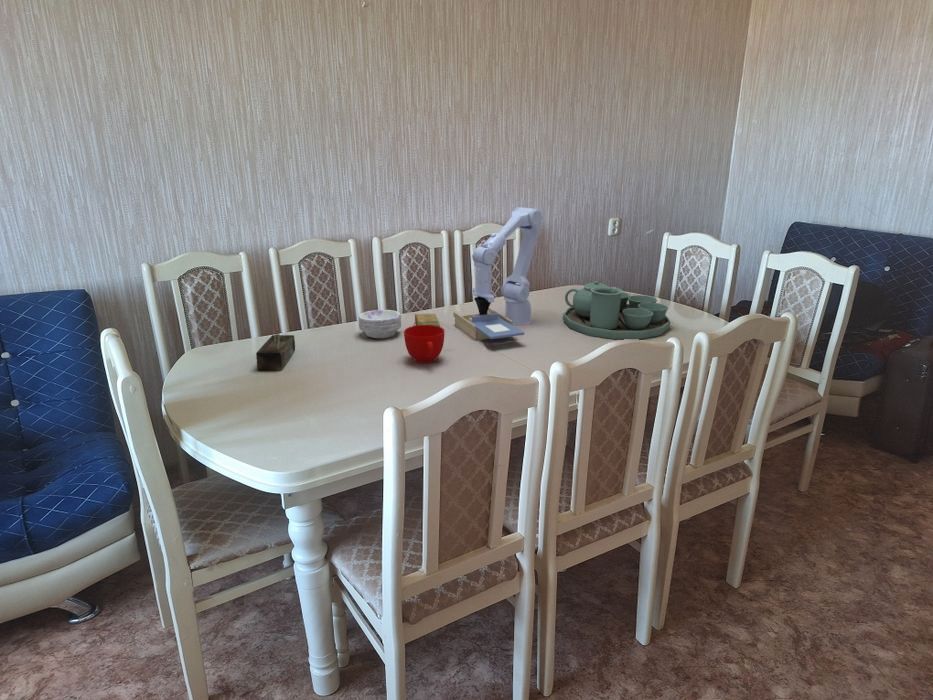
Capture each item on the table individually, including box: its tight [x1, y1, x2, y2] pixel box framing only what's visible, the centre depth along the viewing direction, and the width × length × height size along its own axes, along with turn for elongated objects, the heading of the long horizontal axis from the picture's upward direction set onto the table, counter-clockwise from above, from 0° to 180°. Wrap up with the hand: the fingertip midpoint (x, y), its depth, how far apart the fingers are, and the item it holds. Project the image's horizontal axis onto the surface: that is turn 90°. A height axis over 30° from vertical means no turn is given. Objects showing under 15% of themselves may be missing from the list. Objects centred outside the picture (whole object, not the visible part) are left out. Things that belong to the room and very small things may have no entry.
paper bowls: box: [358, 309, 402, 340], centre depth 218 cm, size 15×15×8 cm
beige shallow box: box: [452, 307, 514, 341], centre depth 222 cm, size 15×20×6 cm
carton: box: [414, 313, 441, 327], centre depth 226 cm, size 8×16×4 cm, turn 9°
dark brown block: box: [255, 333, 296, 372], centre depth 193 cm, size 8×19×7 cm, turn 2°
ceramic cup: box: [403, 325, 445, 364], centre depth 192 cm, size 13×17×10 cm
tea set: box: [562, 280, 671, 340], centre depth 230 cm, size 40×40×16 cm
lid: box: [469, 313, 525, 340], centre depth 212 cm, size 13×20×3 cm, turn 23°
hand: (483, 316), depth 221 cm, fingers closed
